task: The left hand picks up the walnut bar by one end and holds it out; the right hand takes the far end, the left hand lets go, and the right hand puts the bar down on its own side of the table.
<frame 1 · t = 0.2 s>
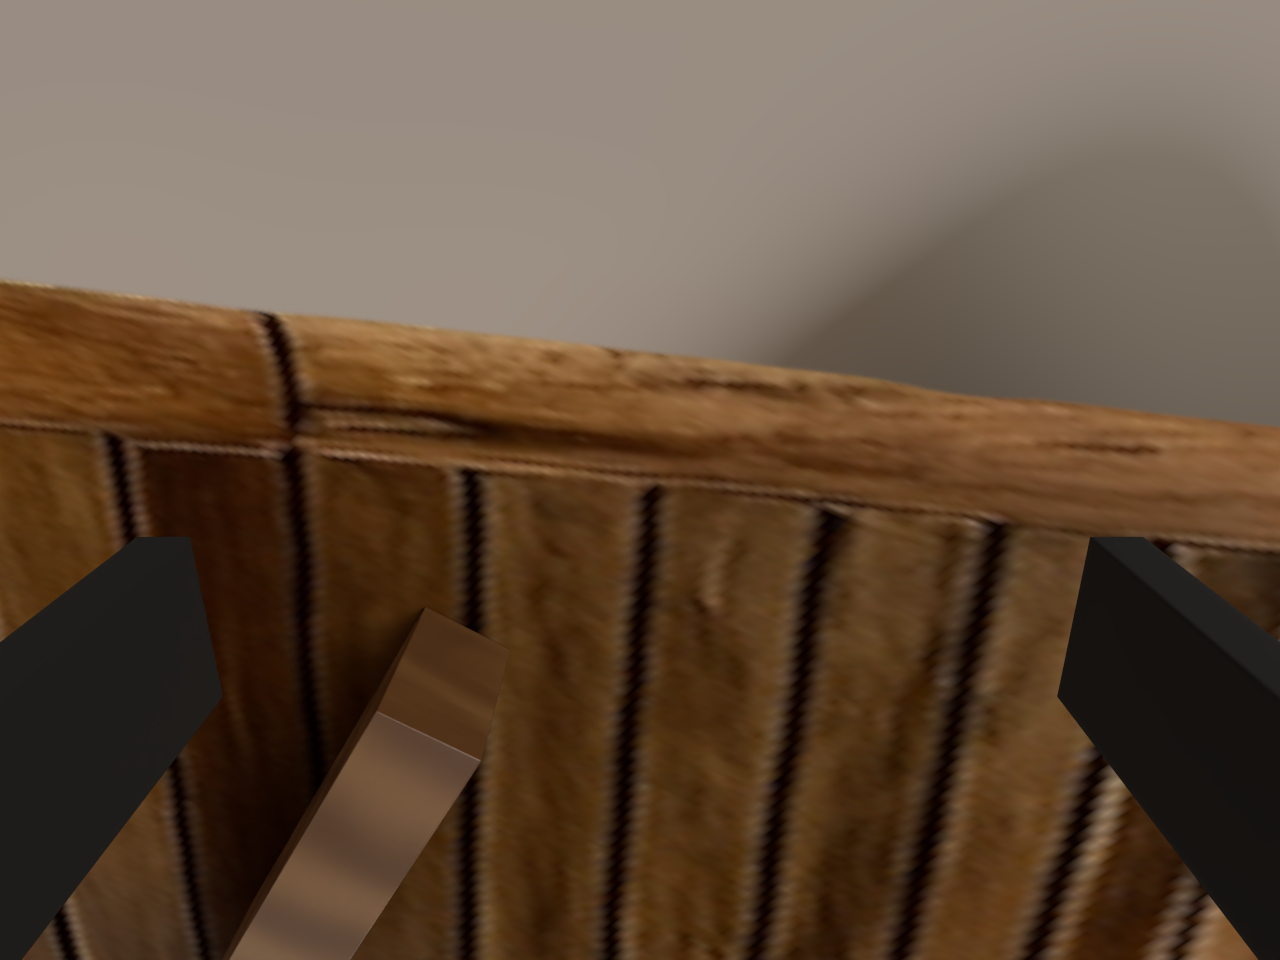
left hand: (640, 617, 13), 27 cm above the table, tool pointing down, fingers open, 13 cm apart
bar: (371, 785, 48), on the table
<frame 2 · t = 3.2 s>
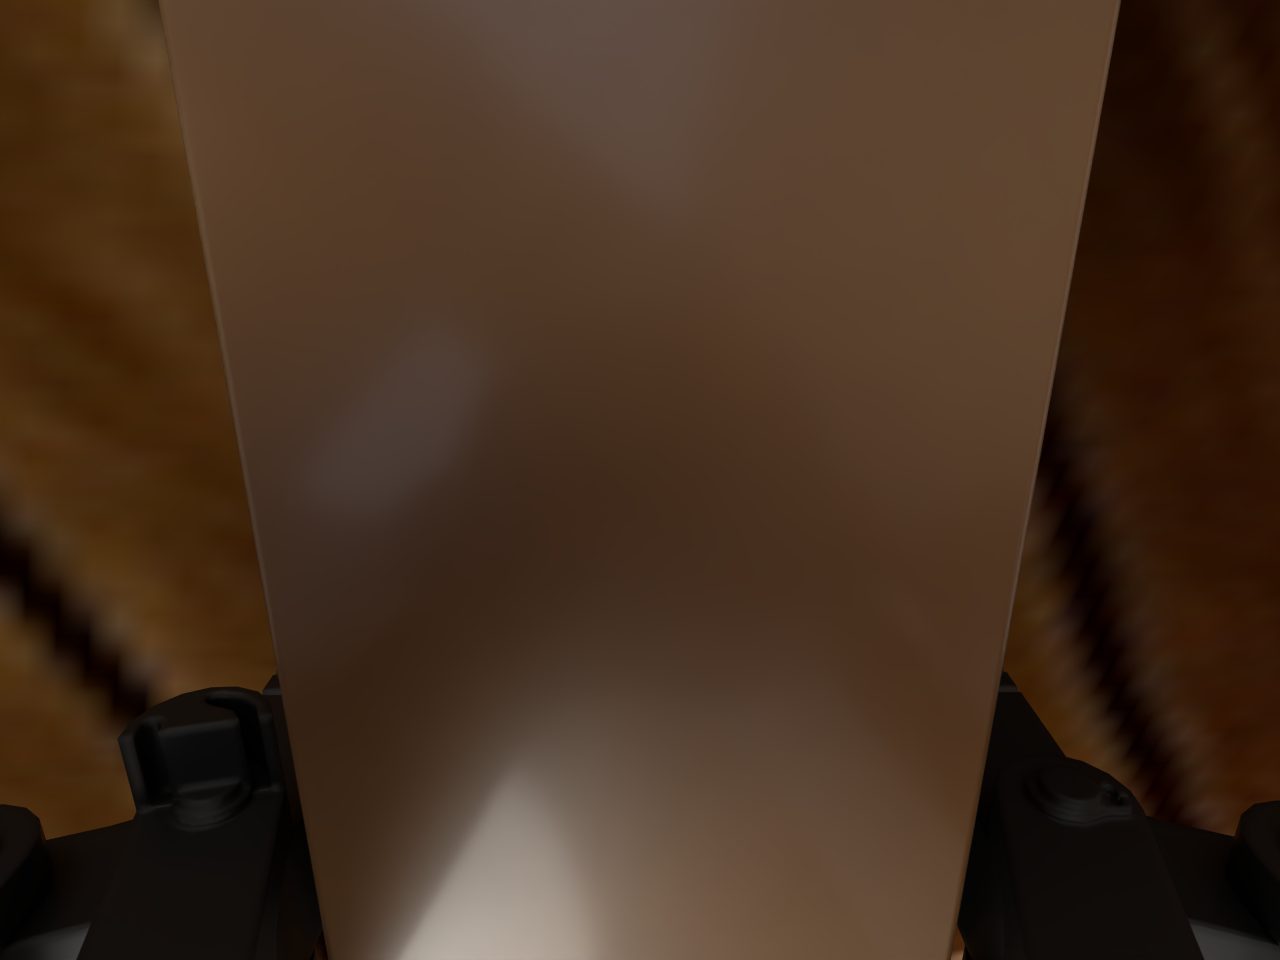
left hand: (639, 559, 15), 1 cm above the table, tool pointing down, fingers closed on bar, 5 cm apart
bar: (639, 11, 12), on the table, touching left hand
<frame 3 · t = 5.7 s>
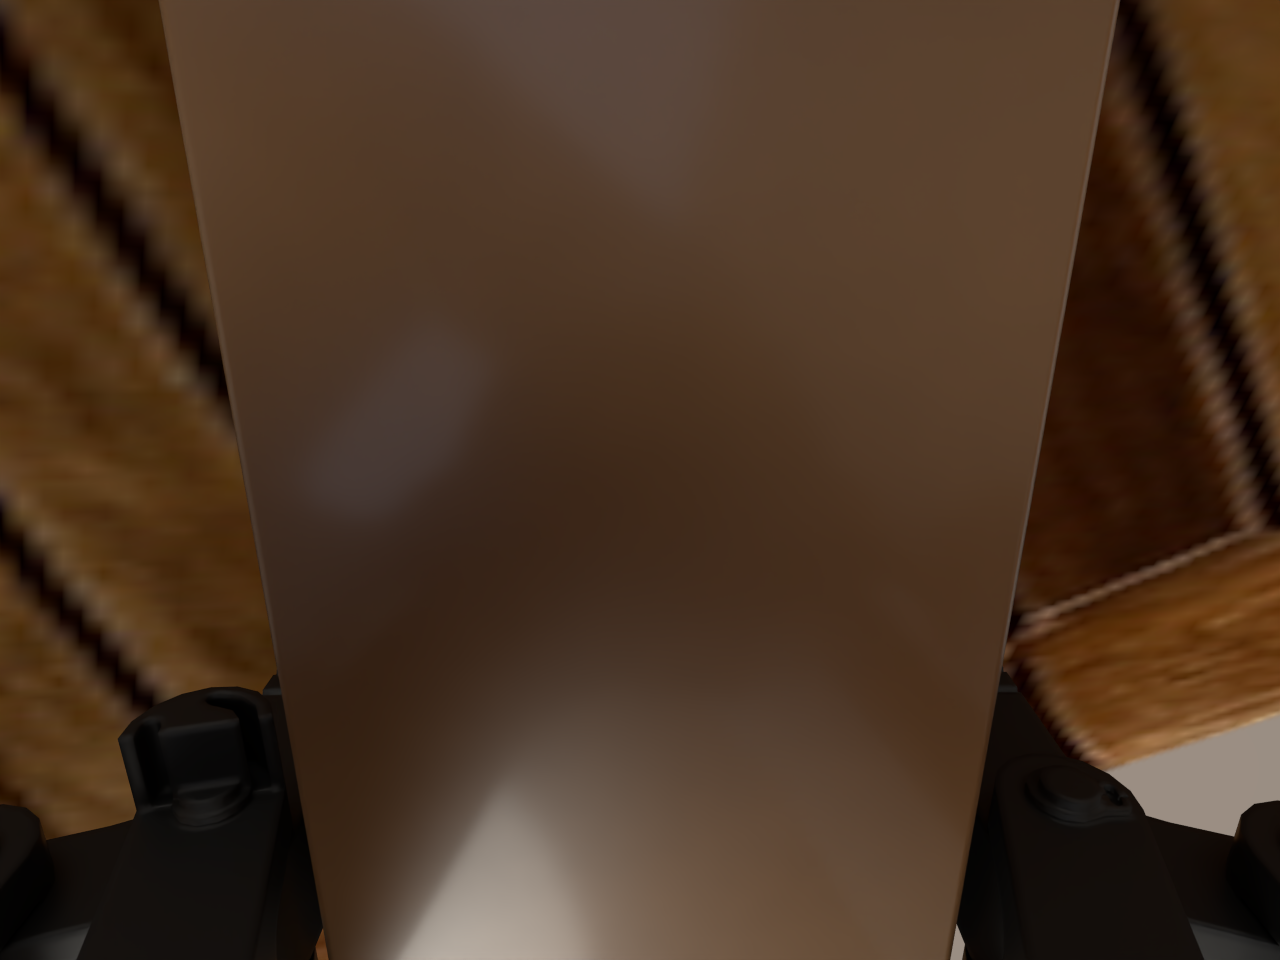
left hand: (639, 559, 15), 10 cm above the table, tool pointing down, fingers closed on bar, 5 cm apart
bar: (639, 12, 12), point 10 cm above the table, touching left hand
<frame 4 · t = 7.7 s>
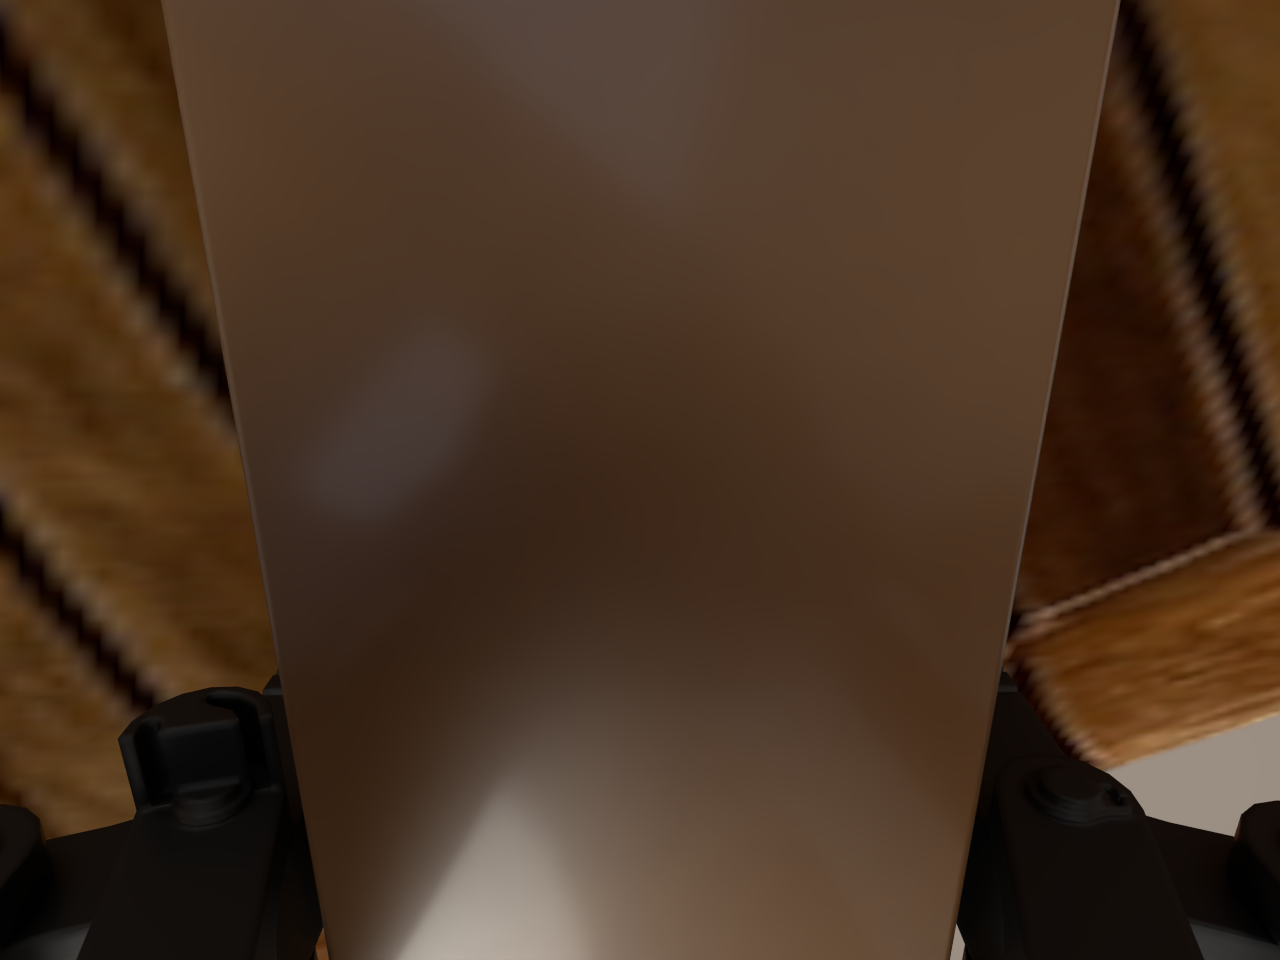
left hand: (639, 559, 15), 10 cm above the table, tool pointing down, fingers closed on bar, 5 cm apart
bar: (640, 12, 12), point 10 cm above the table, touching left hand, right hand
when the left hand's fingers open (10 cm above the table, at t = 8.3 s): bar stays where it is, held by the right hand.
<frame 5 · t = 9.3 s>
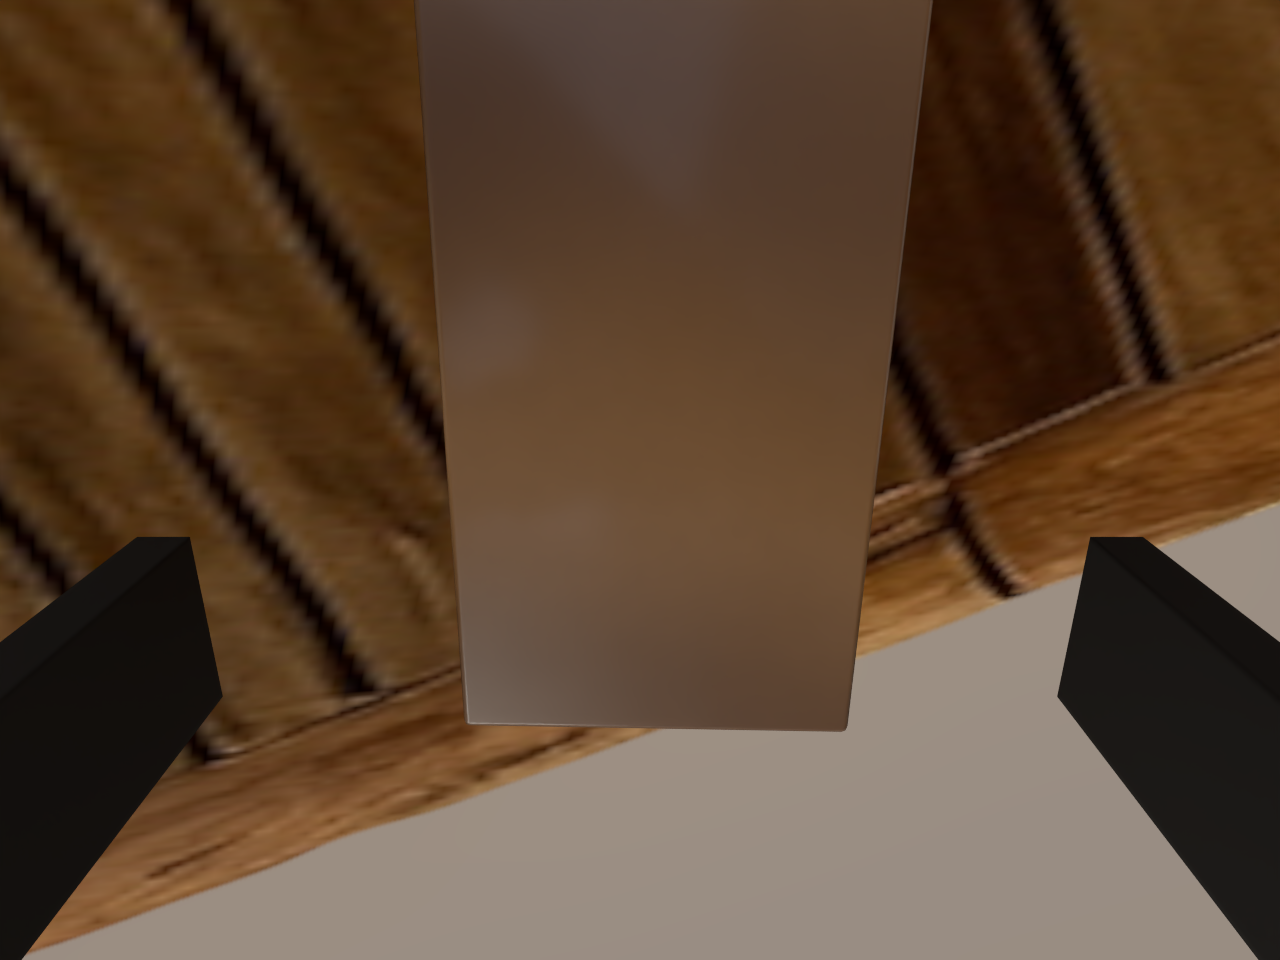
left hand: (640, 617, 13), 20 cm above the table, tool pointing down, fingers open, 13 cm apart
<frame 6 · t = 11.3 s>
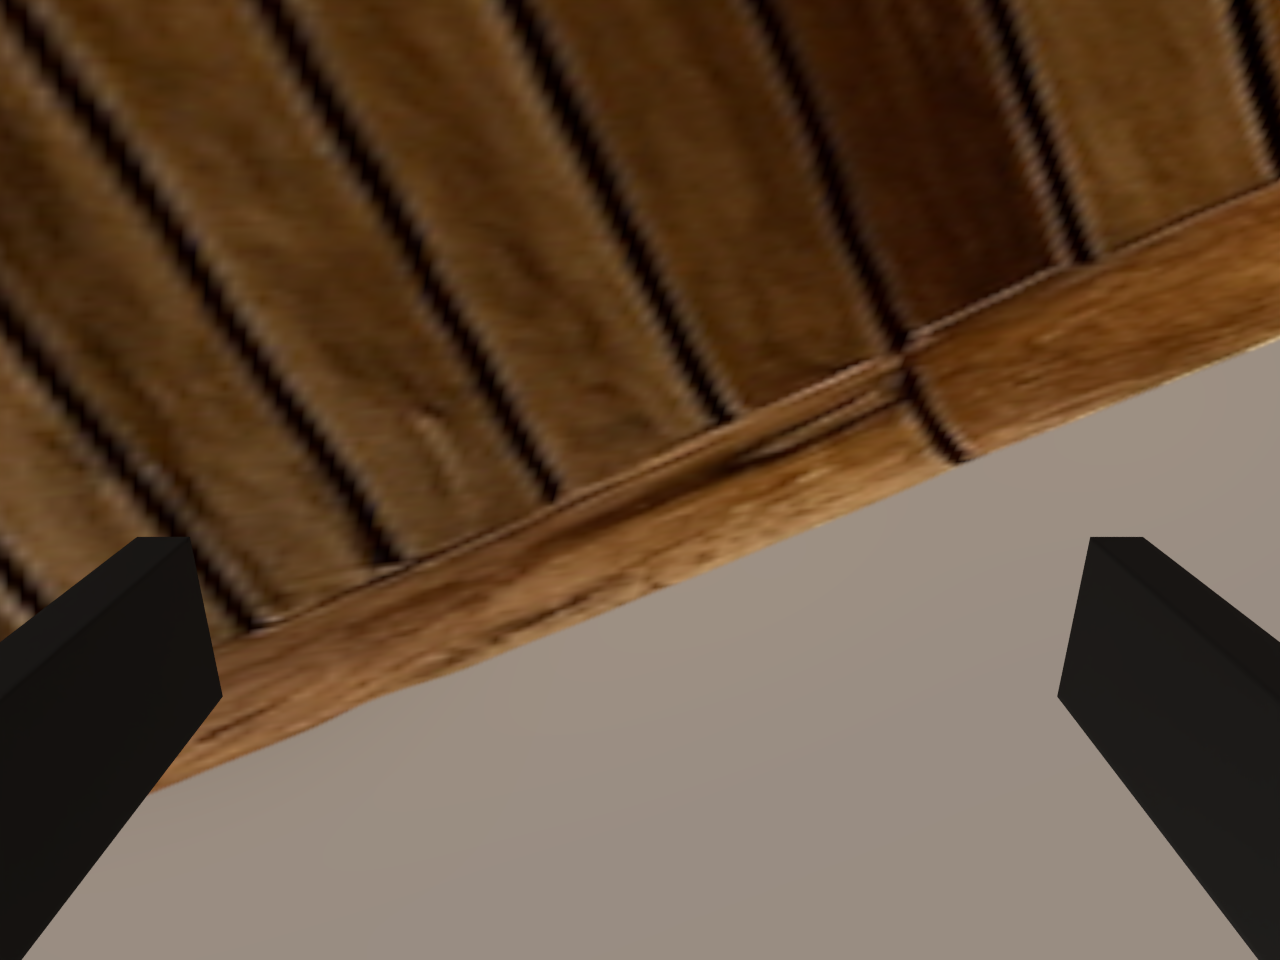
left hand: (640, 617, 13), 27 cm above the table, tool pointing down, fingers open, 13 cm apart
when the right hand's fingers open (2 cm above the table, at t = 14.9 s): bar drops 1 cm, on the table.
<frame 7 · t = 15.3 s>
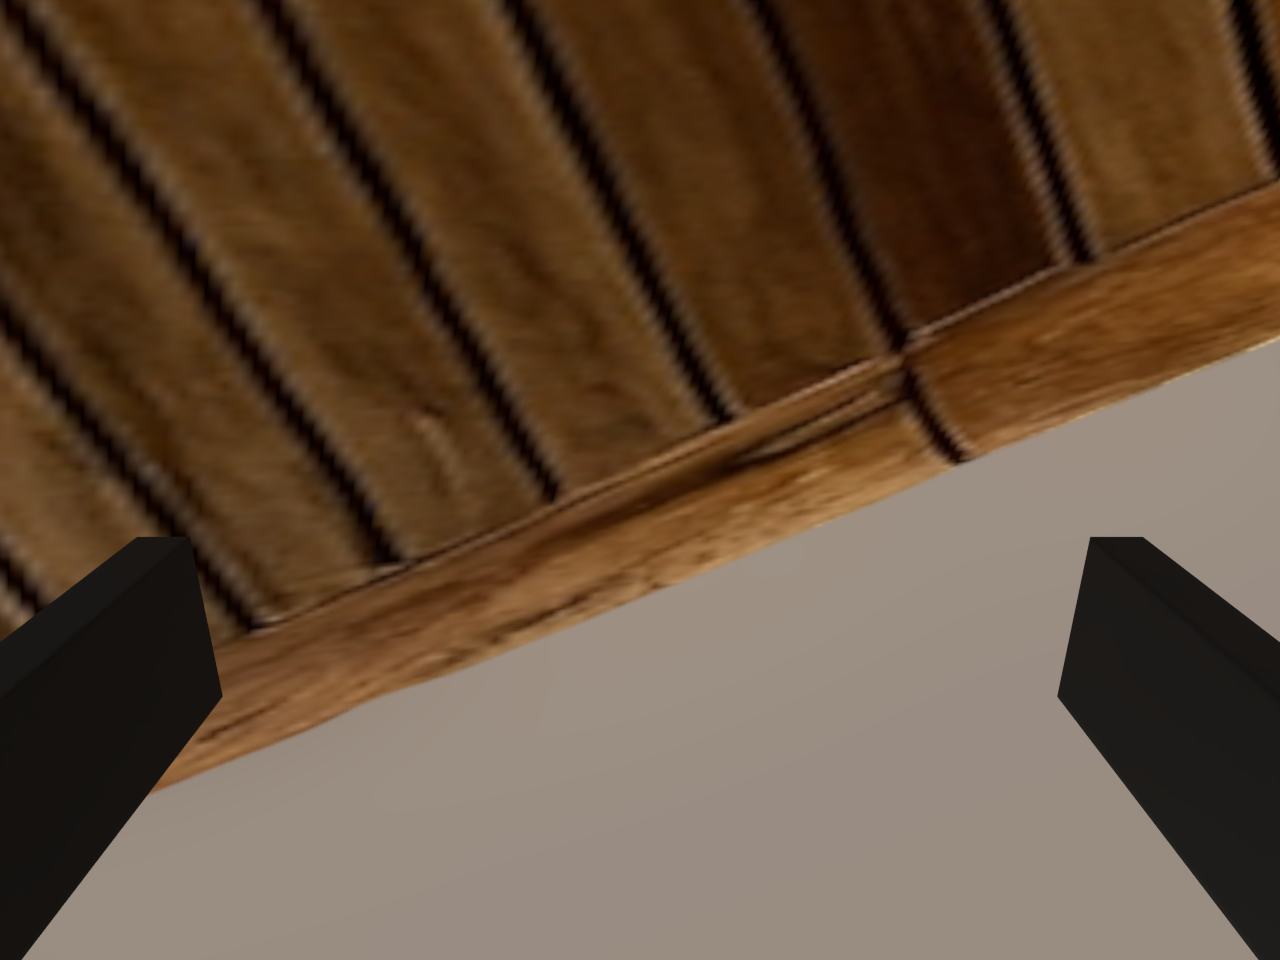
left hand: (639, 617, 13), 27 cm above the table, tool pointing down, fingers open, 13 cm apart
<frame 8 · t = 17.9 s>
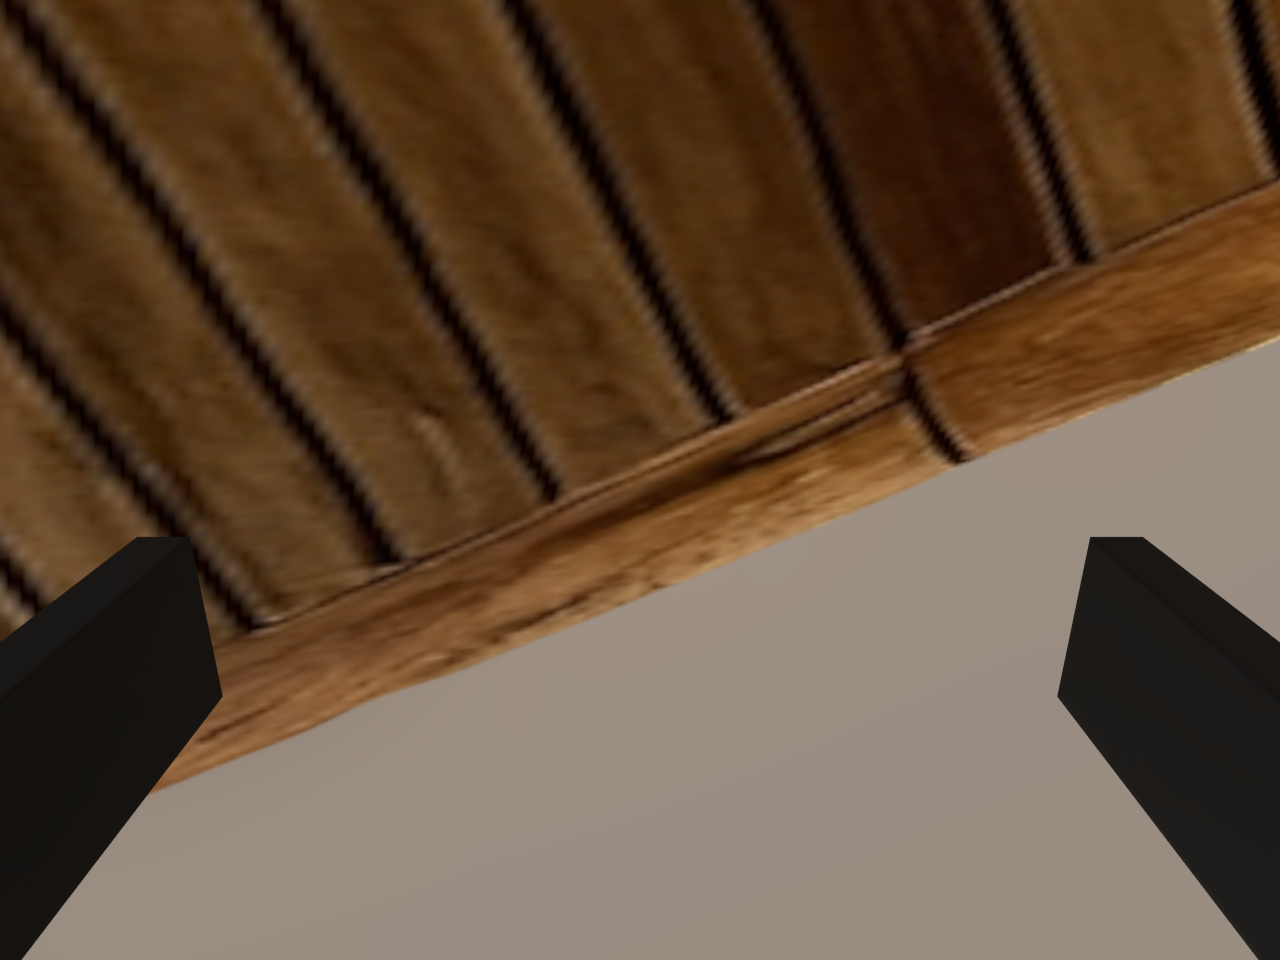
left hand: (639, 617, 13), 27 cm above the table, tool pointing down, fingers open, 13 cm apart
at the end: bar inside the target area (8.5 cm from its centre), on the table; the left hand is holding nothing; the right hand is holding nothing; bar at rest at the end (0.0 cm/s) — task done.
